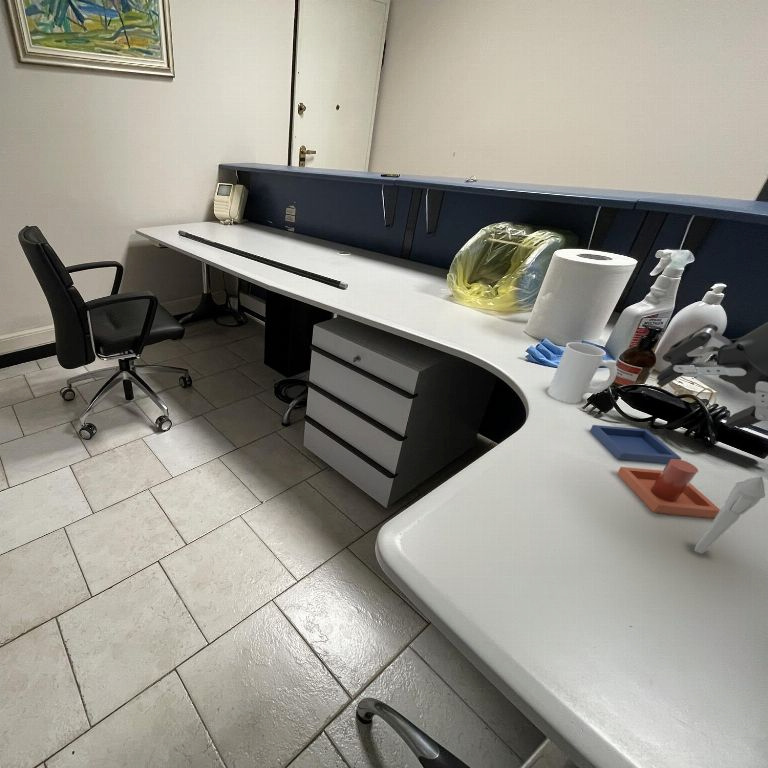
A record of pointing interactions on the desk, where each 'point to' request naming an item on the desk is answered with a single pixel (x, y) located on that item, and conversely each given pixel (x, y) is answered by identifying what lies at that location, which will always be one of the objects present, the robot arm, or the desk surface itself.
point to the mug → (579, 372)
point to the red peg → (673, 480)
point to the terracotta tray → (686, 504)
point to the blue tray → (633, 444)
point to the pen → (733, 510)
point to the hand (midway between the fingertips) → (694, 401)
